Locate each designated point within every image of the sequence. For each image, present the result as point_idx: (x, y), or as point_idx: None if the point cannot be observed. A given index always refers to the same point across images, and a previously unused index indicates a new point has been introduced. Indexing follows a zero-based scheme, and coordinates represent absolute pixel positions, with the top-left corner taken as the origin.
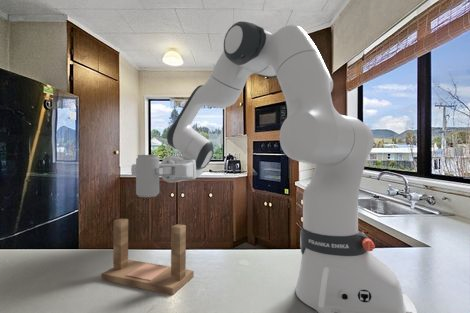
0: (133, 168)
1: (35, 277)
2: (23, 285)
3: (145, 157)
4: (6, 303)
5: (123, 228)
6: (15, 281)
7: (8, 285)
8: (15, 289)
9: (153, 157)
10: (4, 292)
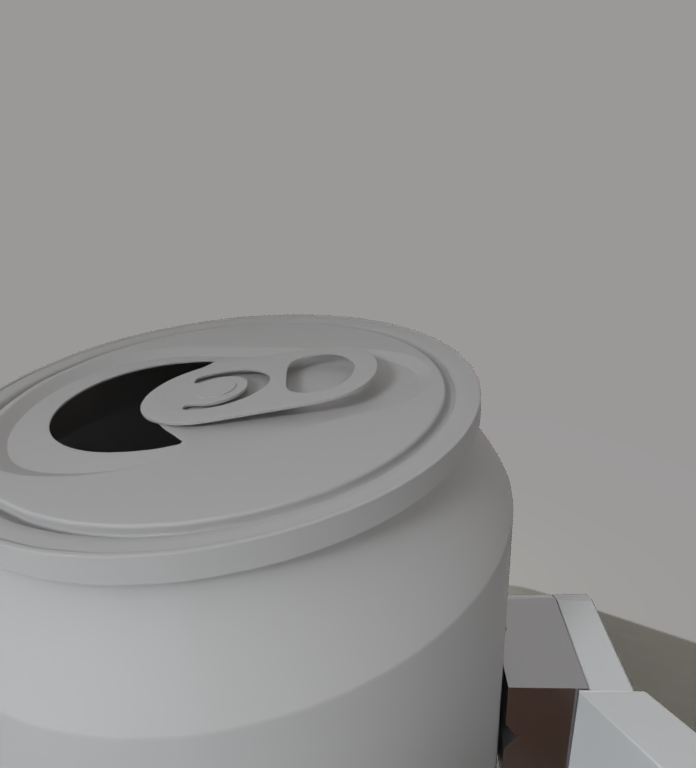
0: (578, 597)
1: (678, 705)
2: (627, 656)
3: (197, 365)
4: (530, 591)
5: None
6: (692, 663)
7: (668, 641)
8: (612, 634)
9: (60, 414)
10: (614, 616)
